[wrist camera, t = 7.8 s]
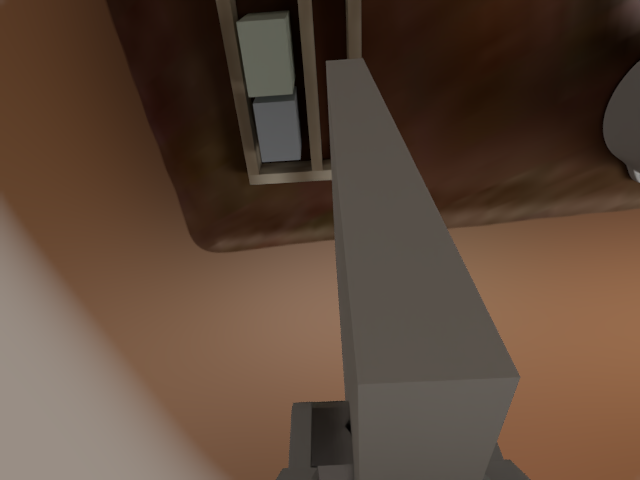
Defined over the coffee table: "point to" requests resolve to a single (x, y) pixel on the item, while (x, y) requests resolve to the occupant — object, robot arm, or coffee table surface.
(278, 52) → the sage offcut
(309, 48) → the birch rack
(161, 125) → the coffee table surface
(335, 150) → the tall board
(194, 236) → the coffee table surface
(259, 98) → the slate offcut
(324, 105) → the coffee table surface
